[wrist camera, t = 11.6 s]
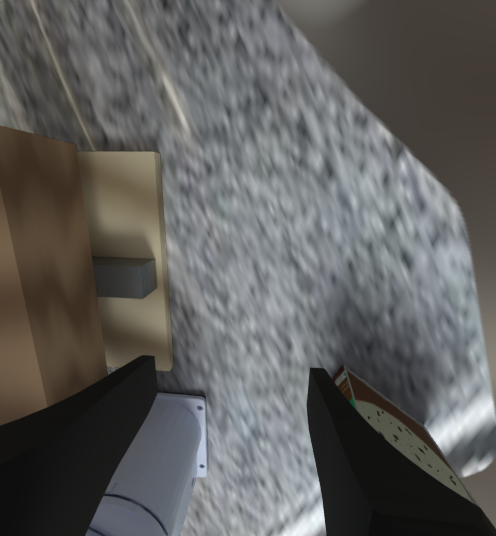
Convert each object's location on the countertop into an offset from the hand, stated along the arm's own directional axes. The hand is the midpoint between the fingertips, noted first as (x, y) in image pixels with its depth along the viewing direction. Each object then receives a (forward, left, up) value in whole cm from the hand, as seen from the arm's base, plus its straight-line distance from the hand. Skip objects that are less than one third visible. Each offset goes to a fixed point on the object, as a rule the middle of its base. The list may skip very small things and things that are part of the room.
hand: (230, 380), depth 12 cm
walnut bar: (+2, +13, -7) cm, 15 cm away
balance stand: (+2, +13, -10) cm, 17 cm away
